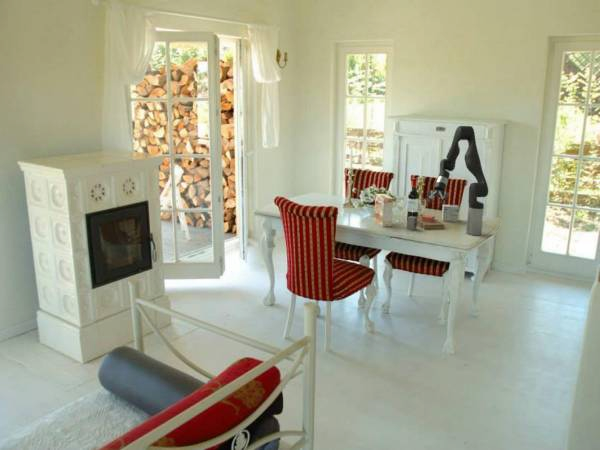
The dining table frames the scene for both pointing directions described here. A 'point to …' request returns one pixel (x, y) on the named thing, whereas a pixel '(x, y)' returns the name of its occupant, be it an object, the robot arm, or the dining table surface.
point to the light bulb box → (450, 213)
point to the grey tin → (411, 223)
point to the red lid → (428, 218)
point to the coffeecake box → (383, 210)
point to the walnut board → (429, 224)
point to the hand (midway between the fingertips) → (434, 204)
